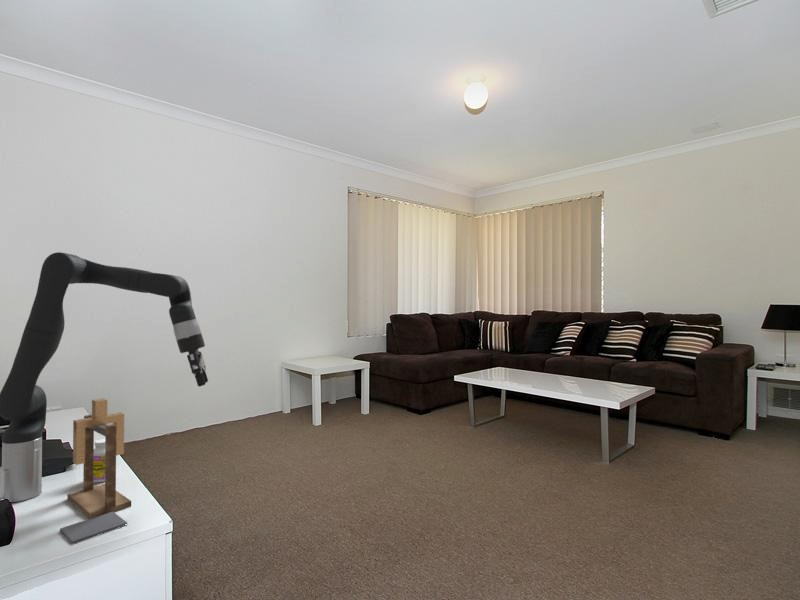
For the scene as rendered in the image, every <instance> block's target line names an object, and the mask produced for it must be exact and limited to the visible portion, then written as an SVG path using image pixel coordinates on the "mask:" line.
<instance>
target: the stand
mask: <svg viewBox="0 0 800 600" xmlns="http://www.w3.org/2000/svg"><path fill="white" fill-rule="evenodd" d="M90 417H92V414H86V415H84V416H83V419H84V418H90ZM94 432H96V433H98V434H99V435H101V436H104V437H105V438H104V439H105V482H104V483H103V484H100V485H94V482H93V464H94V449H95V448H94V447H95V441H94V440H95V439H94V438H95V436H94V435H95V434H94ZM82 474H83V484H82V487H83V488H82V490H78V491H74V492H71V493H70V492H69V493H67V500H68V501H69V502H70V503H71V504H72V505H74V507H76V508H77V509H78V510H79V511H80V512H81V513H83V514H84V515H85V516H86V517H87V518H88V519H91V518H94V517H97V516H101V515H104V514H107V513H110V512H114V513H116V512H118V511H120V510H121V511H122V510H124V509H126V508H130V507H132V500H130V499H129V498H128V497H126V496H125V495H123V494H122V493H120V492H119V491H117V479H116V478H117V456H116V425H114V424H113V423H112V424H103V425H97V426H92V427H86V428H85V463H83V473H82Z"/></svg>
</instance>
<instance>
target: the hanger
mask: <svg viewBox="0 0 800 600" xmlns="http://www.w3.org/2000/svg"><path fill="white" fill-rule="evenodd" d="M91 415H92V417H90V418H84V417H83V418H79V419H74V420H73V422H72V425H73V427H72V429H73V431H72V432H73V433H72V436H73V437H72V443H73V444H72V463H73V464H75V465H76V466H77V465H78V466H79V465H82V464H83V465H84V463H85V428H86V427H92V426H97V425H103V424H106V425H109V424H112V425H113V424H114V425H116V457H117V456H120V455H125V413H123V412H116V413H115V412H114V413H110V414H109V413H108V399H106V398H99V399H98V398H97V399H91Z"/></svg>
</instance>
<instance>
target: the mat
mask: <svg viewBox="0 0 800 600" xmlns="http://www.w3.org/2000/svg"><path fill="white" fill-rule="evenodd" d="M125 524H127V525H128V522H127V521H126V520H124V518H122V517H121V516H120V515H118V514H117V513H116V512H110V513H107V514H104V515H101V516H97V517H94V518H91V519H90V518H88V519H85V520H82V521H79V522H77V523H76V522H75V523H72V524H70V525H67V526H64V527H60V528H59V531H60V533H61V534H62V536H64V537H65V538H66V539H67V540H68V541H69V542H70V543H71V544H72V545H73V544H77V543H79V542H82V541H85V540H88V539H91V538H94V537H96V535H97V536H99V535H98V534H100V535H102V534H101V533H103V534H105V533H108V532H111V531H113V529H114V530H117V529H119V528H118V527H120V528H122V527H121V526H123V525H125ZM125 526H126V525H125ZM123 527H124V526H123ZM116 528H117V529H116ZM110 530H111V531H110ZM107 531H108V532H107ZM104 532H105V533H104ZM93 536H94V537H93Z"/></svg>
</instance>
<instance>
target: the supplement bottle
mask: <svg viewBox="0 0 800 600" xmlns="http://www.w3.org/2000/svg"><path fill="white" fill-rule="evenodd" d="M94 447H95V448H94V464H93V484H94V483H95V484H96V483H97V484H98V483H105V438H101V439H97V440H95V441H94Z"/></svg>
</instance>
